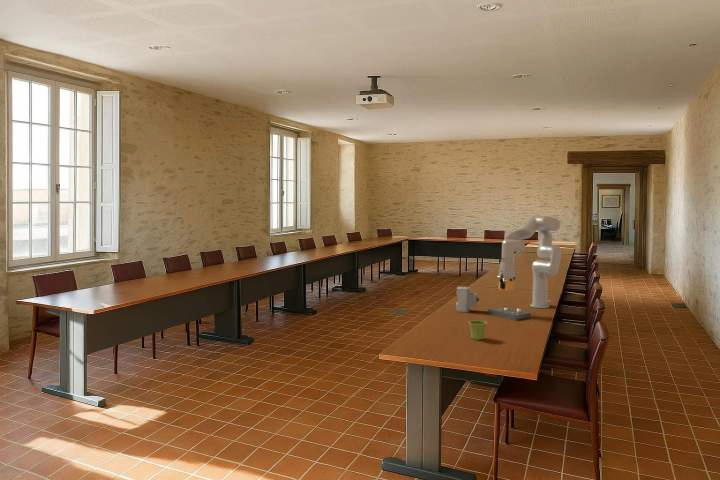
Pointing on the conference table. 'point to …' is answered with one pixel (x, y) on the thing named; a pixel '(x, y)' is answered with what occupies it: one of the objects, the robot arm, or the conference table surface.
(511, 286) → the cap
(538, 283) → the robot arm
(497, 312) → the panel
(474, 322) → the plant pot
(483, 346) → the conference table surface
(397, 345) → the conference table surface
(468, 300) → the circuit breaker
